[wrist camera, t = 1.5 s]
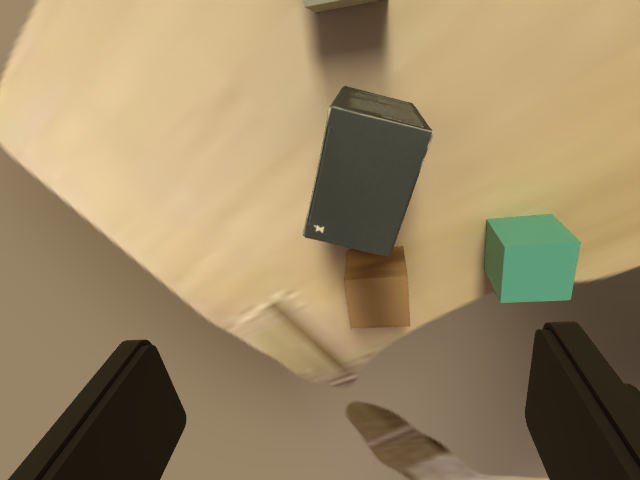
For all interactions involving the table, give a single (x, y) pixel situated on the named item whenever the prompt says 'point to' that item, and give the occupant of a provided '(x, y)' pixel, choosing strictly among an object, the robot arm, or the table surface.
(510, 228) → the teal cube
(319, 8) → the slate cube
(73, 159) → the table surface
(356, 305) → the walnut cube
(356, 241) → the box
